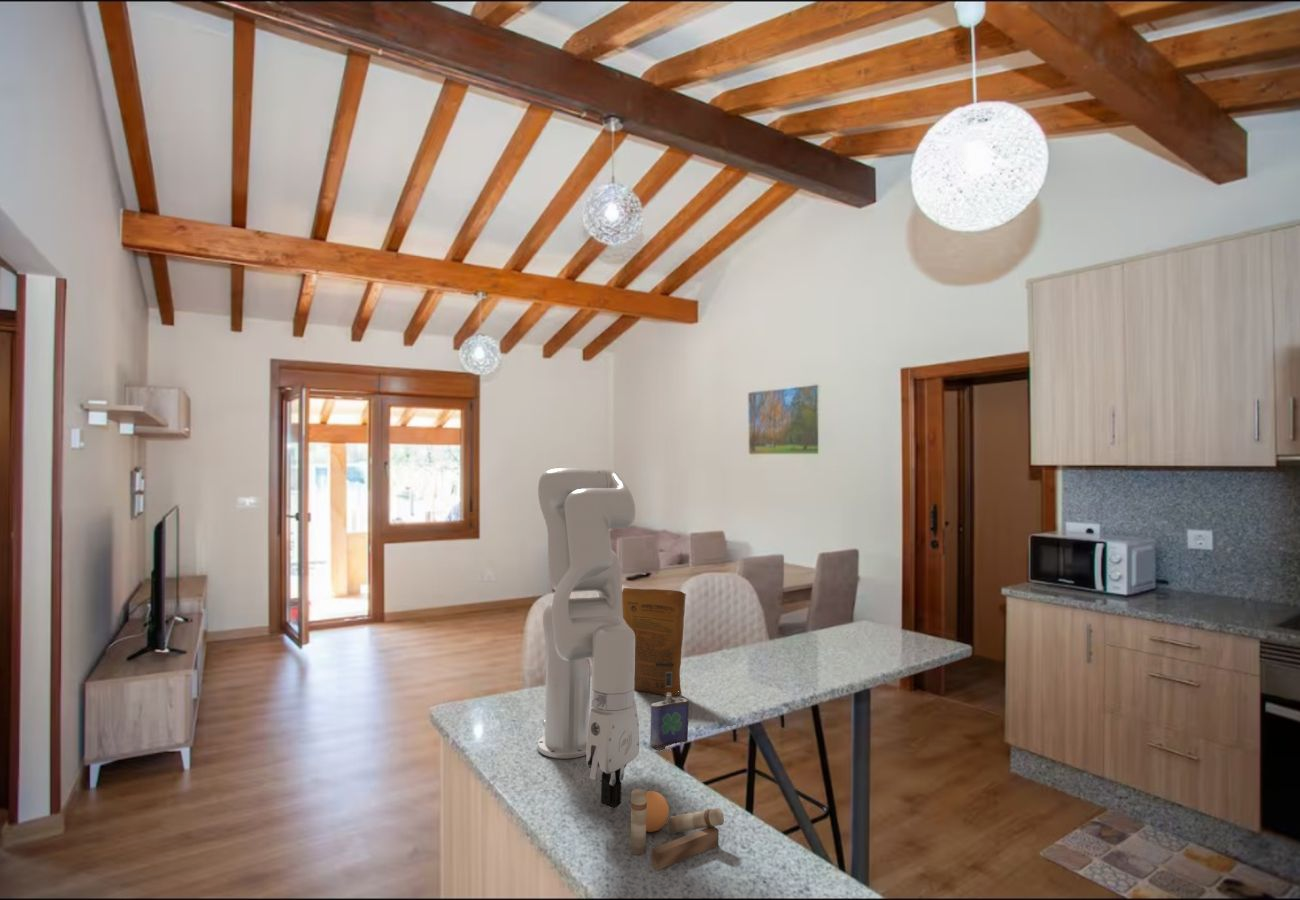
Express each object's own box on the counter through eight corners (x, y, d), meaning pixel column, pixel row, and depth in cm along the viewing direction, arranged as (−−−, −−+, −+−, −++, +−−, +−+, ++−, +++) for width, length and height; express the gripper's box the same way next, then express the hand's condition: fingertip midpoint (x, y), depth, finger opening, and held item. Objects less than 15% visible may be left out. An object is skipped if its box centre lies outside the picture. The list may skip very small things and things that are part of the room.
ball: (668, 817, 107) (656, 846, 108) (677, 793, 113) (665, 821, 114) (634, 799, 108) (623, 828, 110) (645, 777, 114) (634, 804, 115)
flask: (653, 748, 144) (654, 698, 144) (647, 743, 146) (648, 694, 147) (690, 741, 148) (691, 692, 148) (683, 736, 151) (684, 688, 151)
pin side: (627, 849, 105) (628, 791, 105) (640, 844, 107) (641, 787, 107) (635, 856, 103) (636, 797, 103) (649, 851, 105) (650, 793, 105)
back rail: (657, 870, 100) (658, 853, 100) (651, 865, 101) (652, 848, 101) (718, 845, 107) (718, 829, 107) (712, 841, 108) (712, 825, 108)
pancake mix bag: (679, 700, 174) (680, 593, 175) (615, 689, 183) (617, 586, 184) (689, 693, 180) (690, 589, 181) (627, 682, 189) (629, 583, 190)
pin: (672, 812, 112) (718, 804, 108) (679, 824, 112) (725, 816, 108) (667, 824, 109) (714, 816, 106) (674, 836, 110) (721, 829, 106)
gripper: (603, 715, 109) (601, 829, 108) (654, 690, 121) (652, 793, 120) (568, 705, 113) (566, 816, 112) (620, 683, 125) (618, 782, 125)
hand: (610, 804), depth 116 cm, fingers closed
